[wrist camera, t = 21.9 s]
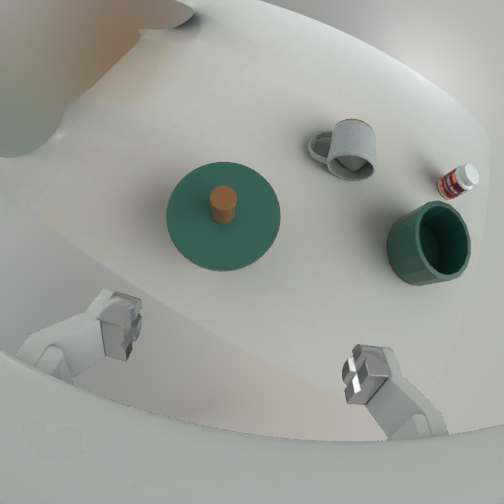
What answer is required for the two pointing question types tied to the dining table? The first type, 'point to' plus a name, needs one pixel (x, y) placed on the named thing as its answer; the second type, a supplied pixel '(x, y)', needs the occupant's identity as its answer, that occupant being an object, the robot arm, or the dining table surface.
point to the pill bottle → (458, 181)
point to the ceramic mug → (348, 150)
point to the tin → (429, 245)
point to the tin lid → (223, 216)
